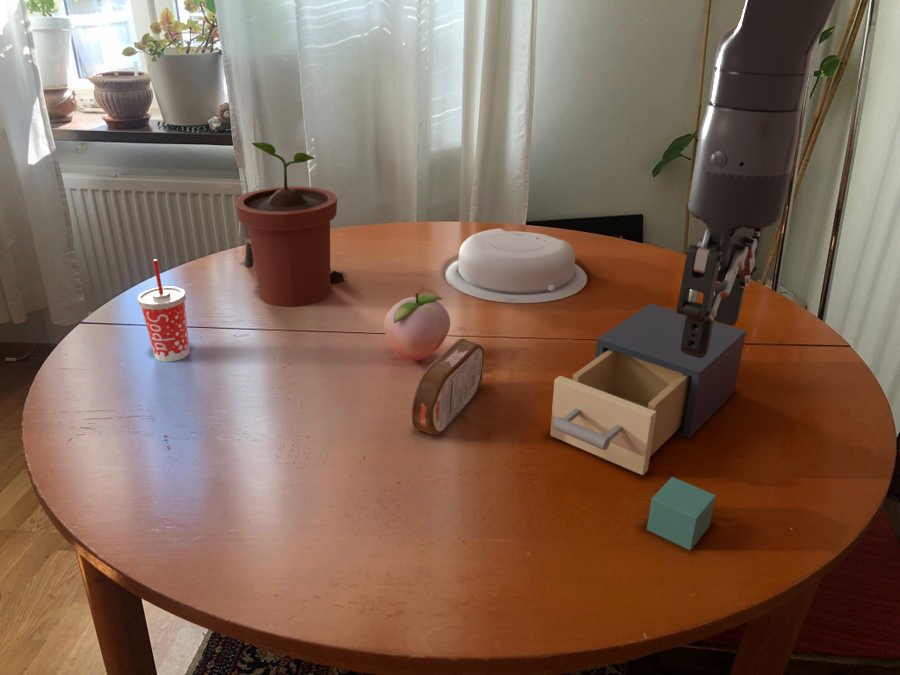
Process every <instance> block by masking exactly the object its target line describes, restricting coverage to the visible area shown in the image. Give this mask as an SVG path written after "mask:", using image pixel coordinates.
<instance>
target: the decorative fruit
mask: <svg viewBox="0 0 900 675" xmlns="http://www.w3.org/2000/svg"><path fill="white" fill-rule="evenodd" d="M442 300H443V298H442V297H441V296H439V295H437V294H436V293H431V292H426V293H422V294H419V293H416V292H415V296H412V297H406V298H403V299H402V300H400V301H398V302H396V303H395V304H394V305H393V306H392V307H391V308H390V309H389V310H388V312H387V313H386V316H385V319H384V323H383V328H384V329H383V330H384V334H385V336H386V339H387V342H388V343H389V345H390V346H391V347H392V349H393V350H394V351H395V352H396V353H397V354H398V355H399V356H401V357H403V358H405V359H408V360H412V361H422V360H424V359H427V358H428V357H430V356H431V355H432V354H433V353H435V352H436V351H437V350H438V349H439V348H440V347H441V346H442V345H443V343H444V342H445V340H446V337H447V336H448V333H449V331H450V327H451V318H450V315H449V313H448V311H447V309H446V308H445V306H444V305H443V304H441V303H440V302H439V301H442Z"/></svg>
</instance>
